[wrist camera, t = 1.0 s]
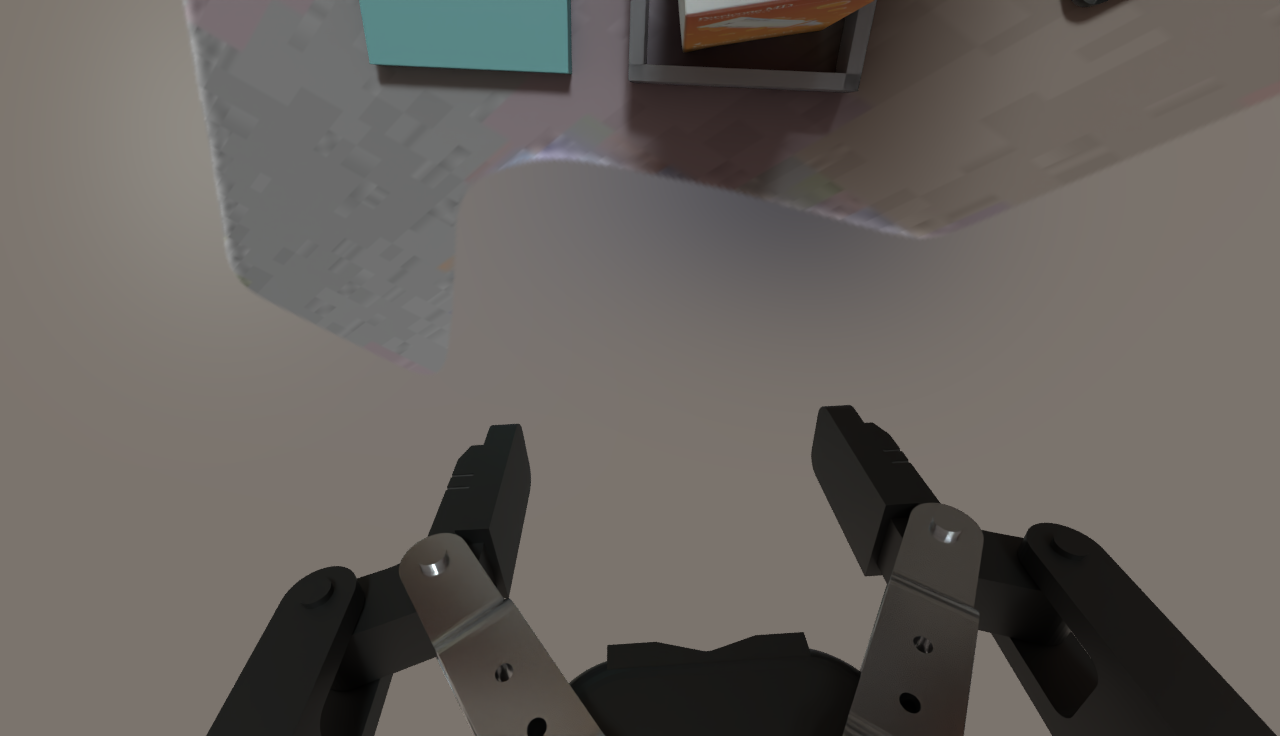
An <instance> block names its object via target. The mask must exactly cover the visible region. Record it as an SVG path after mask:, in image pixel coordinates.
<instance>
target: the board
mask: <svg viewBox="0 0 1280 736" xmlns="http://www.w3.org/2000/svg"><path fill="white" fill-rule="evenodd" d="M359 2H360V8H361V14H362V20H363V26H364V32H365V38H366V43H367V49H368V55H369V61H370V64H375V65H386V66H408V67H429V68H451V69H472V70H494V71H516V72H537V73H559V74H572V61H571V0H359Z"/></svg>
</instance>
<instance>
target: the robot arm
mask: <svg viewBox="0 0 1280 736" xmlns="http://www.w3.org/2000/svg"><path fill="white" fill-rule="evenodd" d="M811 457H812V465H813V470H814V472H815V475H816V477H817V479H818V481H819V483H820V485H821V487H822V489H823V491H824V493H825V496H826V498H827V500H828V502H829V504H830V506H831V508H832V510H833V512H834V514H835V516H836V518H837V520H838V522H839V524H840V526H841V528H842V530H843V533H844V534H845V537H846V539H847V541H848V543H849V545H850V547H851V549H852V551H853V553H854V555H855V557H856V559H857V561H858V563H859V565H860V567H861V569H862V571H863V573H864V575H865V576H877V575H883V577H884V579H885V581H886V583H887V586H886V589H885V592H884V595H883V598H882V602H881V605H880V608H879V611H878V614H877V617H876V621H875V624H874V627H873V630H872V633H871V637H870V640H869V643H868V646H867V649H866V653H865V656H864V659H863V662H862V665H861V668H860V671H859V670H857V669H856V668H854V667H853V666H851V665H849V664H848V663H846V662H844V661H842V660H841V659H838V658H836V657H834V656H832V655H829V654H827V653H824V652H821V651H817V650H813V649H809V647H808V644H807V641H806V638H805V635H804V633H803V632H800V633H784V634H769V635H755V636H752V637H749V638H747V639H744V640H741V641H738V642H735V643H732V644H729V645H727V646H724V647H721V648H718V649H715V650H712V651H700V650H695V649H689V648H684V647H679V646H674V645H669V644H664V643H659V642H648V643H633V644H618V645H608V647H607V661H606V662H603V663H601V664H598V665H596V666H594V667H592V668H590V669H588V670H586V671H585V672H583V673H582V674H580V675H579V676H577V677H576V678H575V679H573V680H572V681H571V682H570V683H568V682H567V680H566V679H565V677H564V676H563V674H562V673H561V671H560V670H559V668H558V667H557V666H556V664H555V662H554V661H553V660H552V658H551V657H550V655H549V654H548V652H547V651H546V649H545V648H544V646H543V645H542V643H541V642H540V641H539V639H538V638H537V636H536V635H535V633H534V632H533V630H532V629H531V627H530V626H529V625H528V623H527V621H526V620H525V619H524V617H523V616H522V614H521V613H520V611H519V610H518V608H517V607H516V606H515V604H514V603H513V602H512V600H510V599H509V593H510V588H511V584H512V579H513V574H514V568H515V564H516V558H517V553H518V548H519V543H520V538H521V533H522V528H523V523H524V518H525V513H526V508H527V503H528V497H529V493H530V486H531V473H530V466H529V461H528V456H527V451H526V446H525V441H524V436H523V431H522V427H521V426H520V424H508V425H492V426H491V427H490V428H489V431H488V434H487V437H486V440H485V443H484V445H475V446H471V447H470V448H469V449H468V450H467V451H466V452H465V453H464V454H463V455H462V456H461V457H460V458H459V459H458V461H457V464H456V466H455V469H454V471H453V474H452V478H451V479H450V482H449V484H448V486H447V488H448V490H446V492H445V494H444V497H443V499H442V502H441V504H440V507H439V509H438V512H437V515H436V517H435V519H434V522H433V525H432V527H431V529H430V532H429V535H428V537H426V538H424V539H422V540H421V541H419V542H417V543H416V544H415V545H414V546H412V547H411V548H410V549H409V550H408V551H407V552H406V554H405V555H404V557H403V558H402V560H401V562H400V564H398V565H396V566H393V567H390V568H388V569H385V570H382V571H379V572H376V573H373V574H370V575H366V576H364V577H360V578H356V576H355V574H354V573H353V572H352V571H351V570H350V569H348V568H345V567H341V566H333V567H327V568H323V569H320V570H317V571H315V572H313V573H311V574H309V575H307V576H306V577H304V578H303V579H301V580H300V581H298V582H297V583H296V584H295V585H294V586H293V587H292V588H291V589H290V590H289V591H288V592H287V593H286V594H285V596H284V597H283V599H282V600H281V602H280V604H279V606H278V608H277V609H276V611H275V613H274V615H273V617H272V619H271V620H270V622H269V624H268V626H267V627H266V629H265V631H264V633H263V635H262V637H261V638H260V640H259V642H258V644H257V645H256V647H255V649H254V651H253V653H252V655H251V656H250V658H249V660H248V662H247V663H246V665H245V667H244V669H243V671H242V672H241V674H240V676H239V678H238V680H237V681H236V683H235V685H234V687H233V689H232V691H231V692H230V694H229V696H228V698H227V699H226V701H225V703H224V705H223V707H222V708H221V710H220V712H219V714H218V716H217V718H216V720H215V721H214V723H213V725H212V727H211V728H210V730H209V732H208V734H207V736H374V735H375V731H376V728H377V725H378V721H379V718H380V715H381V711H382V708H383V705H384V702H385V698H386V695H387V692H388V689H389V685H390V682H391V679H392V676H393V673H395V672H398V671H401V670H403V669H406V668H408V667H411V666H413V665H416V664H418V663H421V662H424V661H426V660H429V659H432V658H434V657H436V659H437V660H438V663H439V665H440V666H441V669H442V671H443V673H444V675H445V677H446V679H447V681H448V683H449V685H450V687H451V690H452V691H453V694H454V696H455V698H456V700H457V702H458V704H459V706H460V708H461V710H462V712H463V714H464V717H465V719H466V720H467V723H468V725H469V727H470V729H471V731H472V733H473V736H964V730H965V722H966V715H967V707H968V700H969V692H970V685H971V678H972V670H973V663H974V655H975V648H976V640H977V633H978V630H981V631H986V632H990V633H991V634H992V635H993V637H994V639H995V640H996V642H997V644H998V645H999V647H1000V648H1001V650H1002V652H1003V654H1004V655H1005V657H1006V659H1007V660H1008V662H1009V664H1010V665H1011V667H1012V668H1013V671H1014V672H1015V674H1016V675H1017V677H1018V679H1019V680H1020V682H1021V684H1022V686H1023V687H1024V689H1025V691H1026V692H1027V694H1028V695H1029V697H1030V699H1031V701H1032V702H1033V704H1034V706H1035V707H1036V709H1037V711H1038V712H1039V714H1040V716H1041V717H1042V719H1043V721H1044V722H1045V724H1046V726H1047V728H1048V729H1049V731H1050V733H1051V734H1052V736H1277V735H1276V734H1275V733H1274V732H1273V731H1272V730H1271V729H1270V728H1269V727H1268V726H1267V725H1266V724H1265V723H1264V721H1263V720H1262V719H1261V718H1260V717H1259V716H1258V715H1257V714H1256V713H1255V712H1254V711H1253V710H1252V709H1251V707H1250V706H1249V705H1248V704H1247V703H1246V702H1245V701H1244V700H1243V699H1242V698H1241V697H1240V696H1239V695H1238V694H1237V692H1236V691H1235V690H1234V689H1233V688H1232V687H1231V686H1230V685H1229V684H1228V683H1227V682H1226V681H1225V679H1223V677H1222V676H1221V675H1220V674H1219V673H1218V672H1217V671H1216V670H1215V669H1214V668H1213V667H1212V666H1211V664H1210V663H1209V662H1208V661H1207V660H1206V659H1205V658H1204V657H1203V656H1202V655H1201V654H1200V653H1199V652H1198V650H1196V648H1195V647H1194V646H1193V645H1192V644H1191V643H1190V642H1189V641H1188V640H1187V639H1186V638H1185V636H1183V634H1182V633H1181V632H1180V631H1179V630H1178V629H1177V628H1176V627H1175V626H1174V625H1173V624H1172V623H1171V621H1169V619H1168V618H1167V617H1166V616H1165V615H1164V614H1163V613H1162V612H1161V611H1160V610H1159V609H1158V607H1157V606H1156V605H1155V604H1154V603H1153V602H1152V601H1151V600H1150V599H1149V598H1148V597H1147V596H1146V595H1145V593H1144V592H1142V590H1141V589H1140V588H1139V587H1138V586H1137V585H1136V584H1135V583H1134V582H1133V581H1132V580H1131V578H1130V577H1129V576H1128V575H1127V574H1126V573H1125V572H1124V571H1123V570H1122V569H1121V568H1120V567H1119V565H1117V563H1116V562H1115V561H1114V560H1113V559H1112V558H1111V557H1110V556H1109V555H1108V554H1107V553H1106V552H1105V551H1104V549H1103V548H1102V547H1101V546H1100V545H1098V544H1097V543H1096V542H1095V541H1093V540H1092V539H1091V538H1089V537H1088V536H1086V535H1084V534H1082V533H1080V532H1079V531H1076V530H1074V529H1071V528H1069V527H1066V526H1062V525H1059V524H1053V523H1039V524H1035V525H1033V526H1031V527H1030V528H1029V529H1028V531H1027V533H1026V535H1025V537H1024V538H1020V537H1015V536H1009V535H1004V534H998V533H993V532H988V531H984V530H981V529H980V527H979V526H978V524H977V523H976V522H975V521H974V520H973V519H972V518H970V517H969V516H968V515H966V514H965V513H964V512H962V511H960V510H958V509H956V508H954V507H951V506H948V505H945V504H941V503H940V502H939V501H938V499H937V498H936V497H935V495H934V494H933V493H932V491H931V490H930V489H929V487H928V486H927V485H926V483H925V482H924V481H923V479H922V478H921V477H920V475H919V474H918V472H917V471H916V470H915V468H914V467H913V466H912V464H911V463H909V462H908V459H907V457H906V456H905V455H904V453H903V452H902V451H900V448H899V447H898V445H897V444H896V443H895V441H894V440H893V439H892V437H891V436H890V435H889V434H888V433H887V432H885V431H884V430H882V429H881V428H880V427H878V426H877V425H875V424H874V423H864V422H863V421H862V419H861V418H860V416H859V415H858V413H857V412H856V410H855V409H854V408H853V407H852V406H851V405H843V406H825V407H821V408H820V410H819V413H818V417H817V423H816V429H815V434H814V441H813V446H812V454H811ZM504 598H506V599H504ZM1071 631H1072V632H1071ZM1073 634H1074V635H1075V636H1074V635H1073ZM1076 638H1077V639H1078V640H1077V639H1076ZM1079 642H1080V643H1079ZM1082 646H1083V647H1082ZM1085 650H1086V651H1085ZM1088 654H1089V655H1088ZM1090 657H1091V658H1090Z"/></svg>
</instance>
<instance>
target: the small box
mask: <svg viewBox="0 0 1280 736" xmlns="http://www.w3.org/2000/svg"><path fill="white" fill-rule="evenodd" d="M873 1H874V0H678V5H679V17H680V29H681V40H682V51H683V52H684V53H687V52H691V51H696V50H700V49H705V48H710V47H715V46H721V45H728V44H734V43H740V42H746V41H752V40H759V39H765V38H772V37H779V36H786V35H793V34H800V33H807V32H815V31H821V30H823V29H825V28H826V27H828V26H830V25H832V24H833V23H835V22H837V21H839V20H840V19H842V18H844V17H846V16H848V15H849V14H851V13H853V12H855V11H856V10H858V9H860V8H862V7H864V6H865V5H867V4H869V3H871V2H873Z"/></svg>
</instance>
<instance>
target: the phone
mask: <svg viewBox="0 0 1280 736" xmlns="http://www.w3.org/2000/svg"><path fill="white" fill-rule="evenodd" d="M1071 1H1072V2H1073V3H1074V4H1075V5H1078V6H1080V7H1090V6H1093V5H1097V4H1100V3H1103V2H1106V1H1108V0H1071Z"/></svg>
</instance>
